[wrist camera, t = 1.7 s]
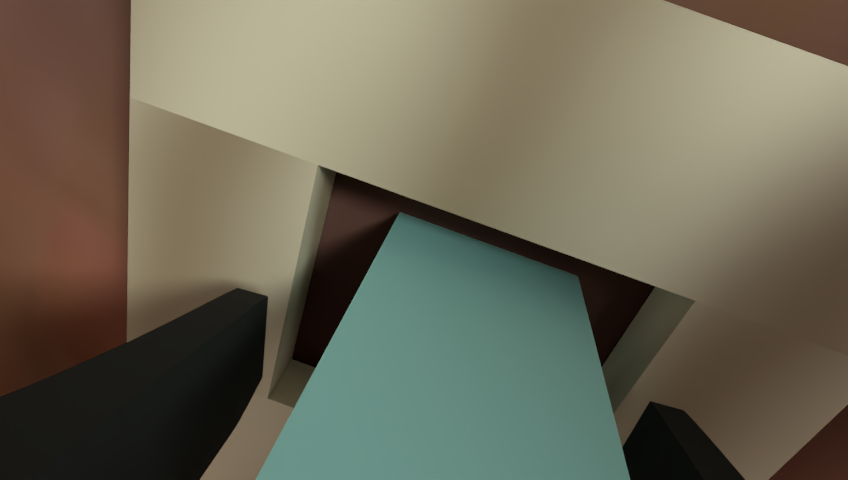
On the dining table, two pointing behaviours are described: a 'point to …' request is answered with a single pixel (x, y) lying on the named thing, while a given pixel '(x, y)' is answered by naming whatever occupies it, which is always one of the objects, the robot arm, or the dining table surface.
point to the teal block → (455, 373)
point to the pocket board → (510, 183)
